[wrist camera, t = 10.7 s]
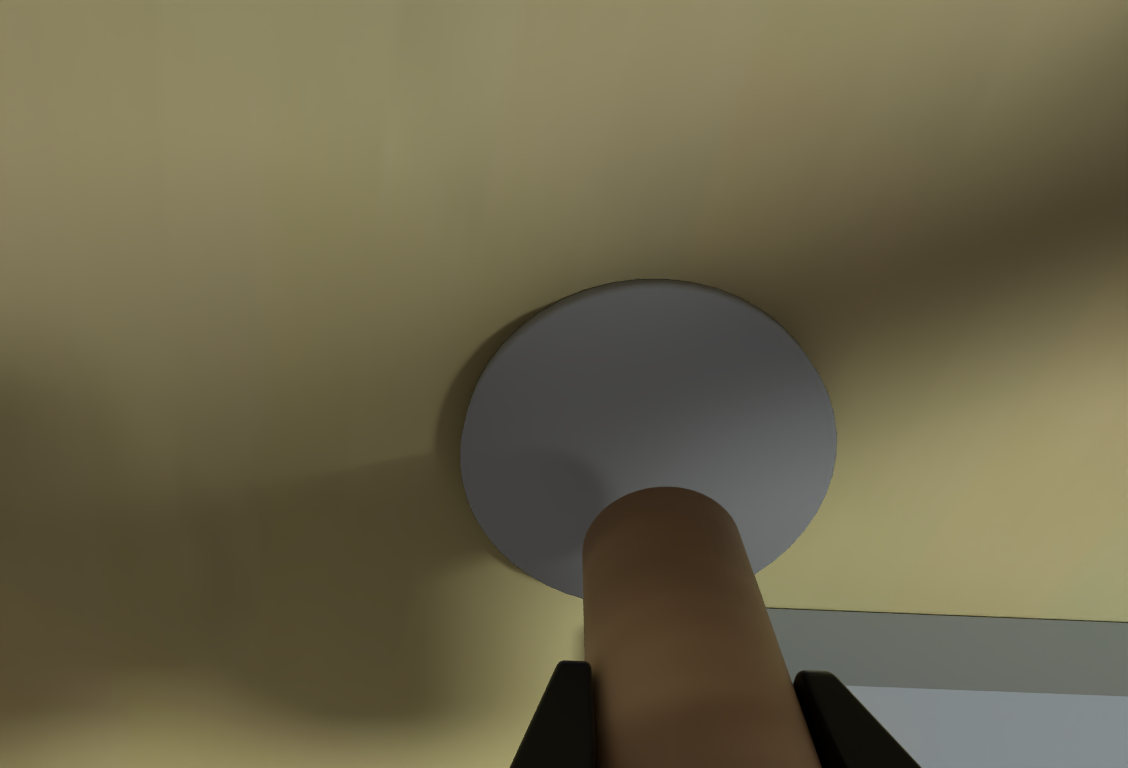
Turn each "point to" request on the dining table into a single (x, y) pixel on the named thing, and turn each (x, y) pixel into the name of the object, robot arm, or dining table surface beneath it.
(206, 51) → the dining table surface
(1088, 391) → the dining table surface
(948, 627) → the panel
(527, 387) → the pad
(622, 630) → the dowel
